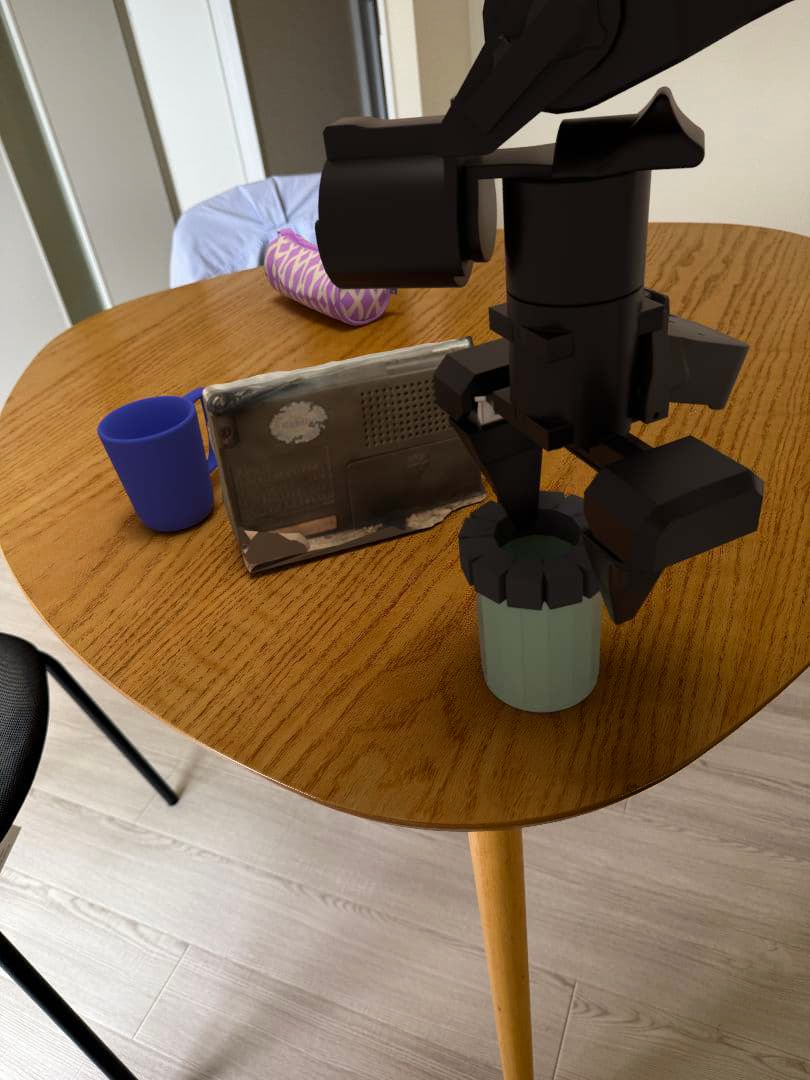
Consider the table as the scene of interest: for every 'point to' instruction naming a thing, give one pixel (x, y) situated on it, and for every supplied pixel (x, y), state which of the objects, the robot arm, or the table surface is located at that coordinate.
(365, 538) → the radio
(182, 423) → the mug
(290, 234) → the pencil case
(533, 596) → the ring
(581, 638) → the cup
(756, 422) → the table surface
